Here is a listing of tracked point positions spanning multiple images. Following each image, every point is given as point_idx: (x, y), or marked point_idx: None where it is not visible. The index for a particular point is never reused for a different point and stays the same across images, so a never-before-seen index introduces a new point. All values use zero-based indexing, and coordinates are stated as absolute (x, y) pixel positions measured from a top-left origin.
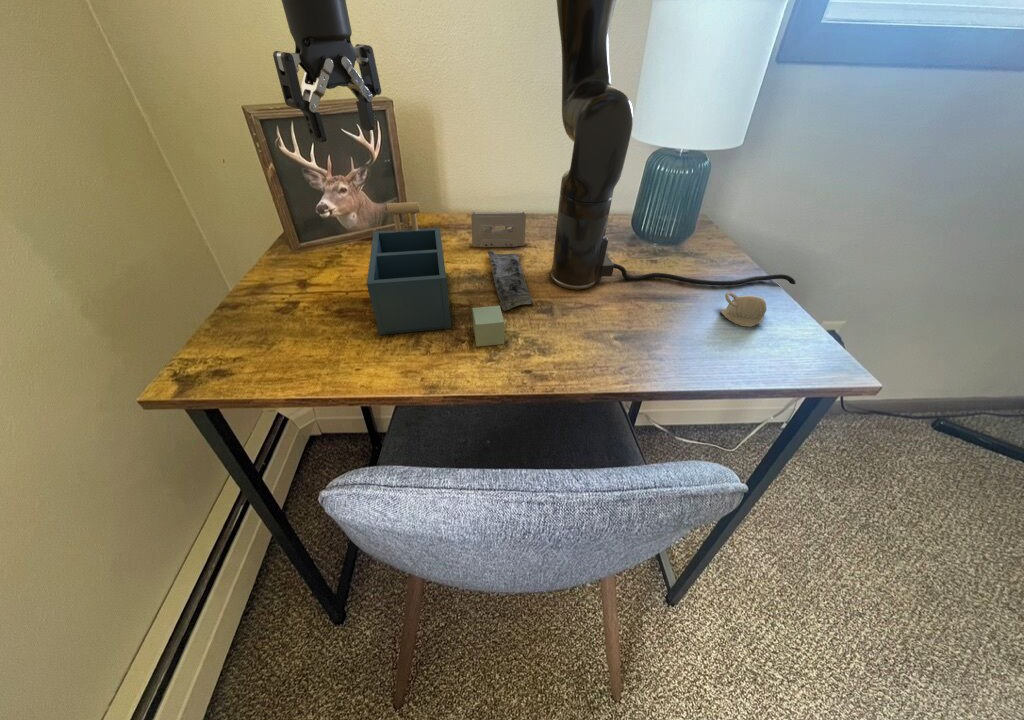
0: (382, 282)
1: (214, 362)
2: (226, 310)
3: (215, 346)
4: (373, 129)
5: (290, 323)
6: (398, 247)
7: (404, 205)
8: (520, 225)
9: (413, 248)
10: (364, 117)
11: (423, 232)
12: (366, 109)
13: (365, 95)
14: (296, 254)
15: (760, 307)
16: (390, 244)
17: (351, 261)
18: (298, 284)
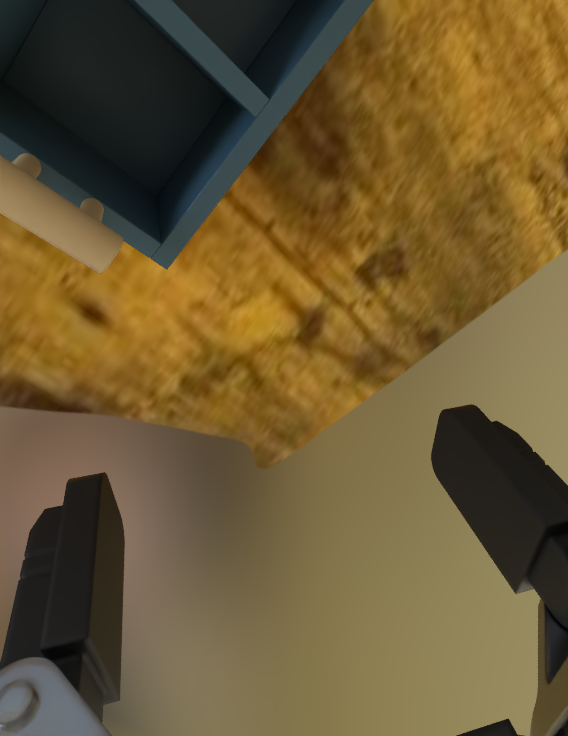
0: None
1: (555, 200)
2: (445, 336)
3: (523, 245)
4: (72, 478)
5: (416, 210)
6: (111, 191)
7: (45, 202)
8: None
9: (62, 154)
10: (109, 560)
11: (3, 130)
12: (94, 590)
13: (68, 711)
14: (249, 439)
15: None
16: (134, 210)
17: (176, 346)
18: (317, 333)
